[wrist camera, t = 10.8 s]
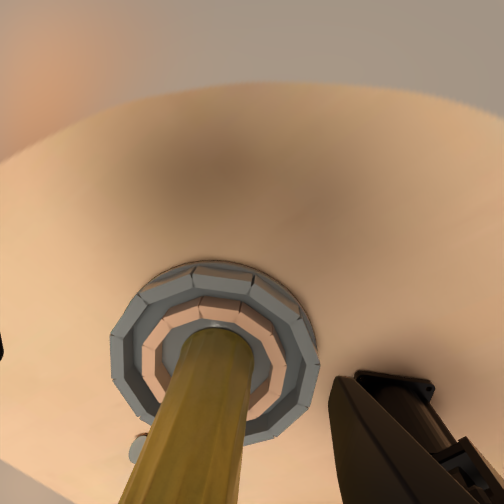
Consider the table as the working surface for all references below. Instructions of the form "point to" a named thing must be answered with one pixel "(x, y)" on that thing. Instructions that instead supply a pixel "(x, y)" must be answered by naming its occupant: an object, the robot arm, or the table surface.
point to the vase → (198, 426)
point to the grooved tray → (224, 317)
